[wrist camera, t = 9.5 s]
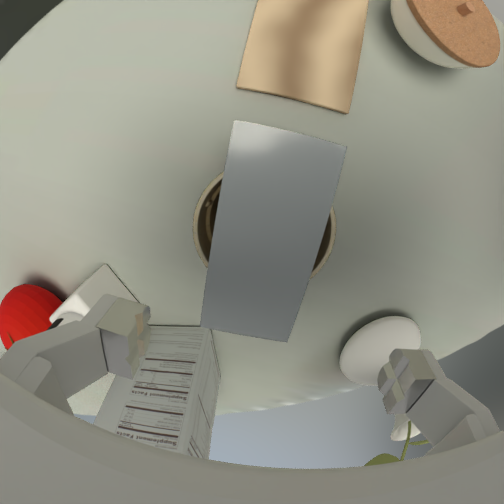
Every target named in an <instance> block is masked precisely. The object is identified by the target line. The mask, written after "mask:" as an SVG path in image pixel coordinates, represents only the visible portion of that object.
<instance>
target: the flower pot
mask: <svg viewBox="0 0 504 504" xmlns="http://www.w3.org/2000/svg"><path fill="white" fill-rule="evenodd" d="M223 174H224V172H222V173H221V174H220V175H218V176H217V177H216V178H215V179H214V180H213V181H212V182H211V183H210V184H209V185H208V186H207V188H206V189H205V190H204V192H203V194H202V195H201V197H200V199H199V201H198V204H197V206H196V210H195V213H194V218H193V239H194V242H195V246H196V249H197V252H198V254H199V256H200V258H201V260H202V261H203V263H204V264H205V266H206V267H207V268H208V263H209V257H210V250H211V244H212V238H213V231H214V225H215V219H216V213H217V207H218V202H219V196H220V190H221V185H222V179H223ZM335 235H336V218H335V213H334V209H333V206H332V207H331V210H330V214H329V217H328V221H327V224H326V227H325V231H324V234H323V238H322V241H321V244H320V247H319V251H318V254H317V257H316V260H315V263H314V266H313V269H312V273H311V276H310V279H311V278H312V277H313V276H315V275H316V274H317V273H318V272H319V271H320V269H321V268H322V267H323V266H324V264H325V262H326V261H327V259H328V257H329V255H330V253H331V251H332V248H333V245H334V241H335ZM310 279H309V280H310Z"/></svg>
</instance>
